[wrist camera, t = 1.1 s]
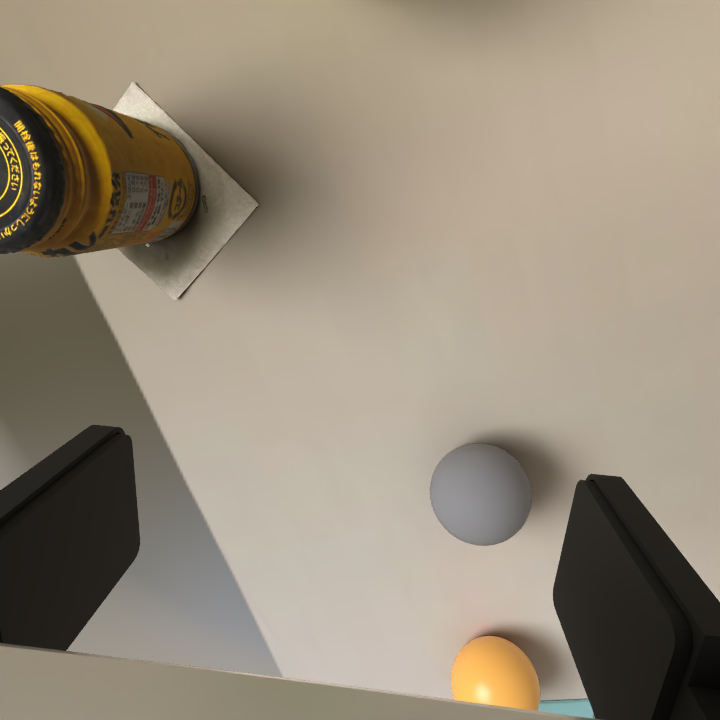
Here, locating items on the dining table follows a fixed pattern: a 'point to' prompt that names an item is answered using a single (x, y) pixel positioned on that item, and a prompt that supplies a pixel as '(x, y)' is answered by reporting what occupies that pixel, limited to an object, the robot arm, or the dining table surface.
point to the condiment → (111, 184)
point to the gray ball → (480, 494)
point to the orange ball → (495, 675)
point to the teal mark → (568, 707)
